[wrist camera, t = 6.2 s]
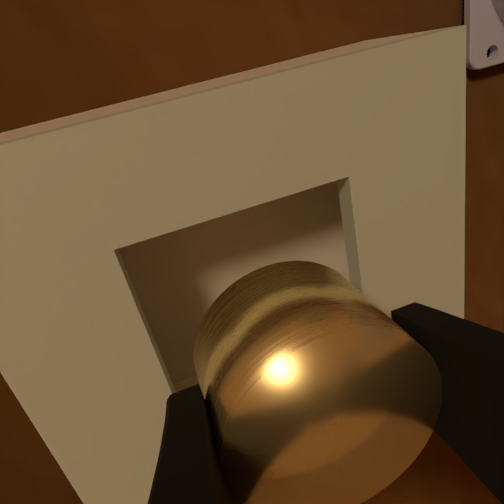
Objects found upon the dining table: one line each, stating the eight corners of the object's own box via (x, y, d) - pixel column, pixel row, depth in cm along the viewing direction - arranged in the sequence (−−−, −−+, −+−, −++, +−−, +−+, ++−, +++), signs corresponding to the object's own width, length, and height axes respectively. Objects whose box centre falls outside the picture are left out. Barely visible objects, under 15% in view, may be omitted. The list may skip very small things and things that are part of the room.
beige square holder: (365, 40, 15) (466, 25, 11) (389, 309, 20) (463, 373, 16) (-39, 142, 13) (-124, 176, 8) (103, 416, 18) (98, 526, 14)
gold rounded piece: (388, 274, 11) (478, 340, 8) (330, 416, 12) (391, 513, 9) (219, 246, 9) (261, 317, 6) (175, 414, 10) (194, 530, 8)
